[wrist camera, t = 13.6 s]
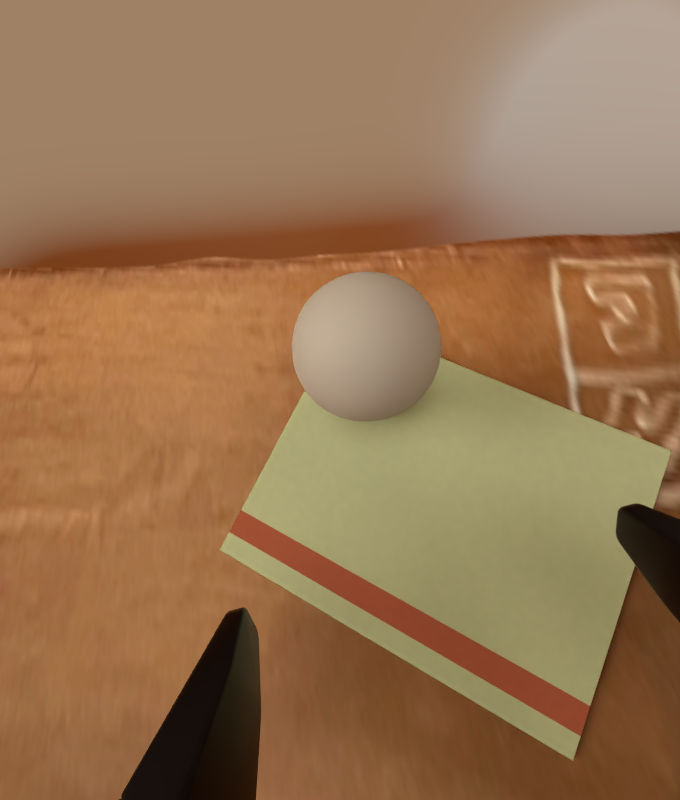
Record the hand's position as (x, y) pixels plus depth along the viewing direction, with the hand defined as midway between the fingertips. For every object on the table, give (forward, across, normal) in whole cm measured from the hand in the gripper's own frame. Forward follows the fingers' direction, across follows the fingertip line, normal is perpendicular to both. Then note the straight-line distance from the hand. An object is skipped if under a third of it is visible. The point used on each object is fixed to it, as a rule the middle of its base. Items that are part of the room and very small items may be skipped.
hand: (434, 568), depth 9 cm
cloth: (+11, -3, +8) cm, 14 cm away
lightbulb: (+15, -1, +3) cm, 15 cm away
